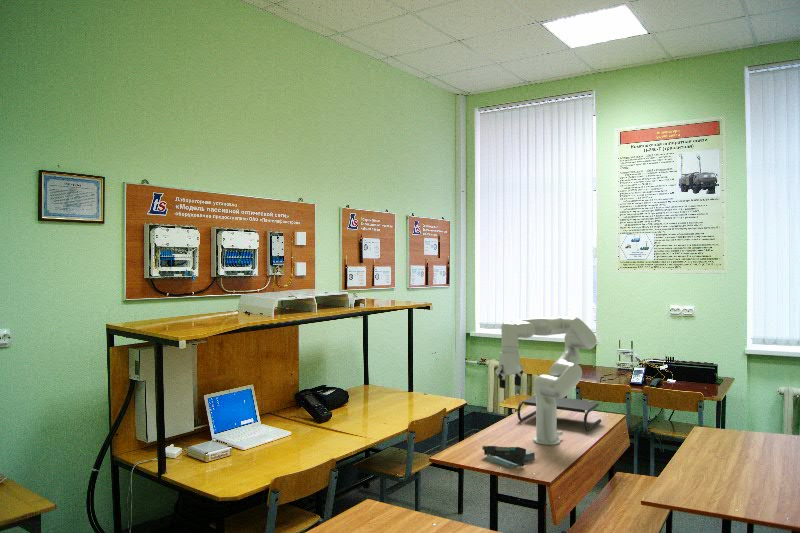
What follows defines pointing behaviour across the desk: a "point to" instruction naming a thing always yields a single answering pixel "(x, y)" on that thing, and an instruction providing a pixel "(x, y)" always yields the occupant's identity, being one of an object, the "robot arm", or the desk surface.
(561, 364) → the robot arm
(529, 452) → the block
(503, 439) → the desk surface
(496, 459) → the cradle tray
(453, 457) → the desk surface
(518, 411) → the monitor stand
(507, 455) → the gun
